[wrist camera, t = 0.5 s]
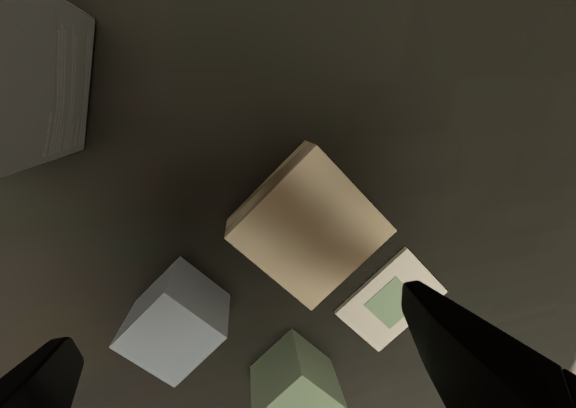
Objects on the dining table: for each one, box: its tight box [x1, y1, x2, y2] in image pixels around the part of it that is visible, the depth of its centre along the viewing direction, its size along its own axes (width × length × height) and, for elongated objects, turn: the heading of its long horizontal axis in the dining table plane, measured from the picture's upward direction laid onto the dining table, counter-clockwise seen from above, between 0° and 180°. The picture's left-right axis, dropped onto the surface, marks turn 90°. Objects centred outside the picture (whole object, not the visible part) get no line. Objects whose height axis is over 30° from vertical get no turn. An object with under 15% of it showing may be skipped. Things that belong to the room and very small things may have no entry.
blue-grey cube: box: [109, 256, 230, 388], centre depth 22 cm, size 5×5×5 cm
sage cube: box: [250, 329, 347, 408], centre depth 25 cm, size 5×5×5 cm
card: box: [334, 247, 447, 352], centre depth 26 cm, size 8×6×1 cm
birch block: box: [224, 140, 397, 311], centre depth 22 cm, size 8×8×4 cm
